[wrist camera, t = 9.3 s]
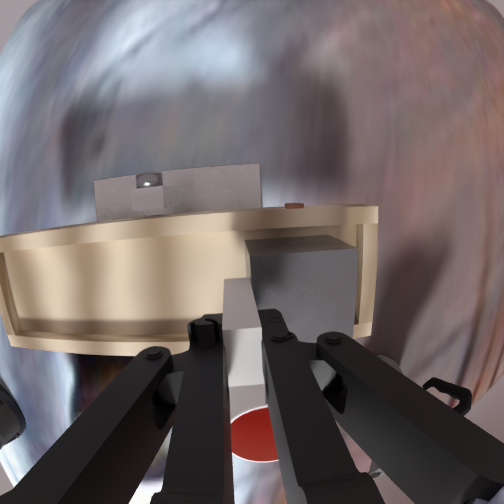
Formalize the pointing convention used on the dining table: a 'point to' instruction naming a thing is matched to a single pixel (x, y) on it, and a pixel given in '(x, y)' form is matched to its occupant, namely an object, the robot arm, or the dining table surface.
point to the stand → (178, 192)
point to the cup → (251, 424)
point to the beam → (155, 274)
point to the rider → (305, 282)
